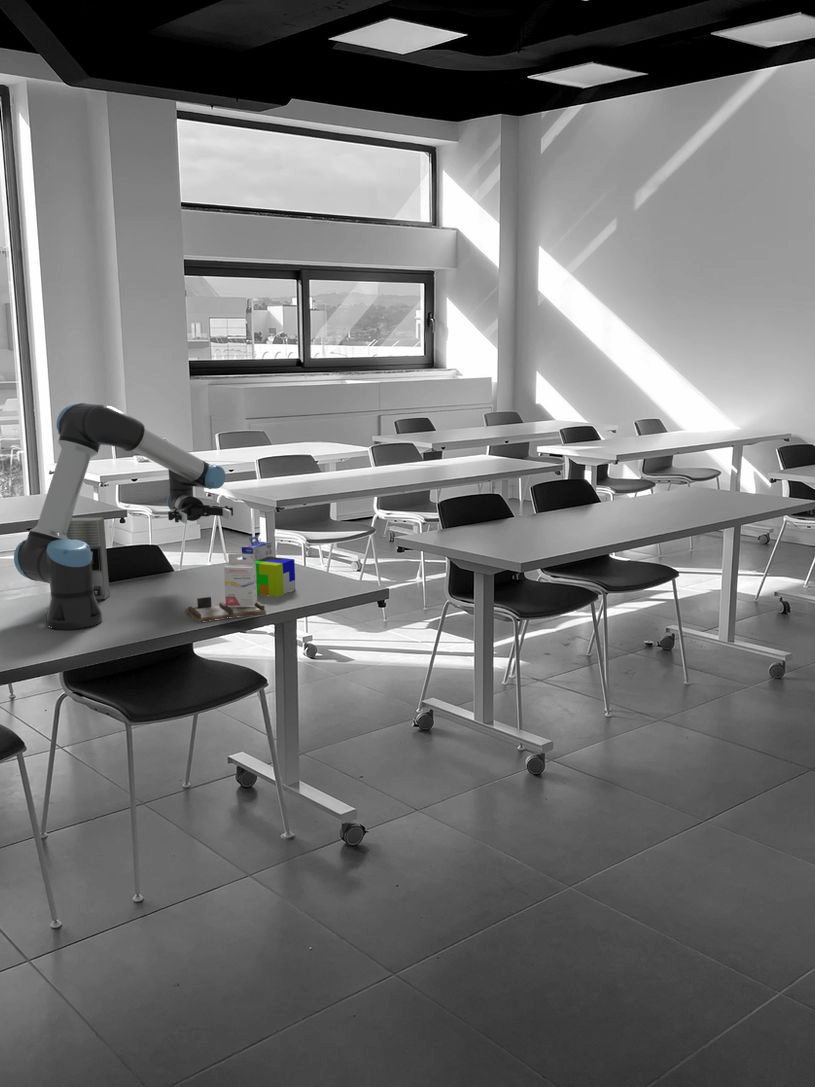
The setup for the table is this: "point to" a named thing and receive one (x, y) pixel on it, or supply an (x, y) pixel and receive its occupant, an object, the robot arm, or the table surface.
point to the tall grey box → (93, 550)
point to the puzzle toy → (275, 576)
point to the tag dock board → (221, 610)
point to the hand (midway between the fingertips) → (208, 517)
